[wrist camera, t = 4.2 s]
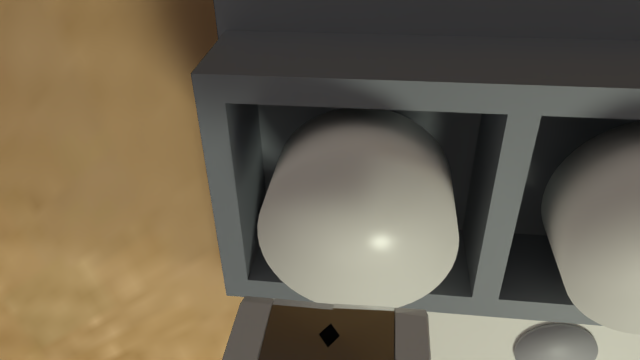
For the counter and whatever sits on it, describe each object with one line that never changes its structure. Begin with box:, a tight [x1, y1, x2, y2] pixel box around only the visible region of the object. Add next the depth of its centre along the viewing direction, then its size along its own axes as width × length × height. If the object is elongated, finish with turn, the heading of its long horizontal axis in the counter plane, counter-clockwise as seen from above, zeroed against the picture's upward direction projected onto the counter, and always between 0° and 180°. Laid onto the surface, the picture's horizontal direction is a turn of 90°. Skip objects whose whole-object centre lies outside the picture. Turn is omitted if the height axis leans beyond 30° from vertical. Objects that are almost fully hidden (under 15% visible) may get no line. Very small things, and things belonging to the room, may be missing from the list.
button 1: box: [257, 108, 459, 308], centre depth 12 cm, size 4×4×2 cm
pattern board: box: [191, 0, 640, 360], centre depth 15 cm, size 19×14×6 cm
